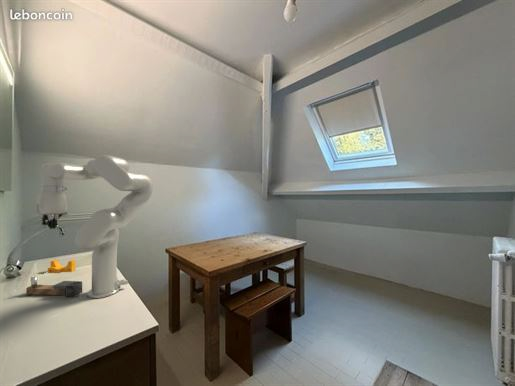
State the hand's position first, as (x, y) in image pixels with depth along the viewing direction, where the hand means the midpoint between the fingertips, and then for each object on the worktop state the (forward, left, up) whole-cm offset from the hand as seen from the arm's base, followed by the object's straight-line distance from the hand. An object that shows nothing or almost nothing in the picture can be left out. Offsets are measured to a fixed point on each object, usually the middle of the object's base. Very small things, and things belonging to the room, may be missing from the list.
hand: (52, 228), depth 104 cm
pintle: (+6, +1, -26) cm, 27 cm away
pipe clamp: (-1, -27, -30) cm, 40 cm away
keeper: (-7, +12, -29) cm, 32 cm away
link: (+1, +5, -29) cm, 29 cm away
